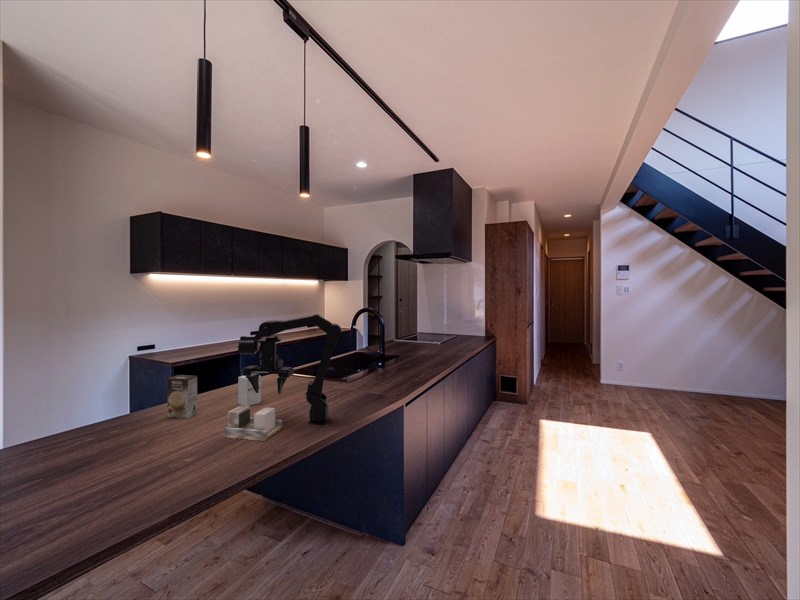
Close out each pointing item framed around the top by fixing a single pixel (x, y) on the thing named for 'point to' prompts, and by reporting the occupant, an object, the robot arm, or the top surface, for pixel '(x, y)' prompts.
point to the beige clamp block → (247, 426)
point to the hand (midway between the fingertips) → (268, 393)
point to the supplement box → (248, 392)
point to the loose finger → (264, 419)
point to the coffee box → (182, 396)
